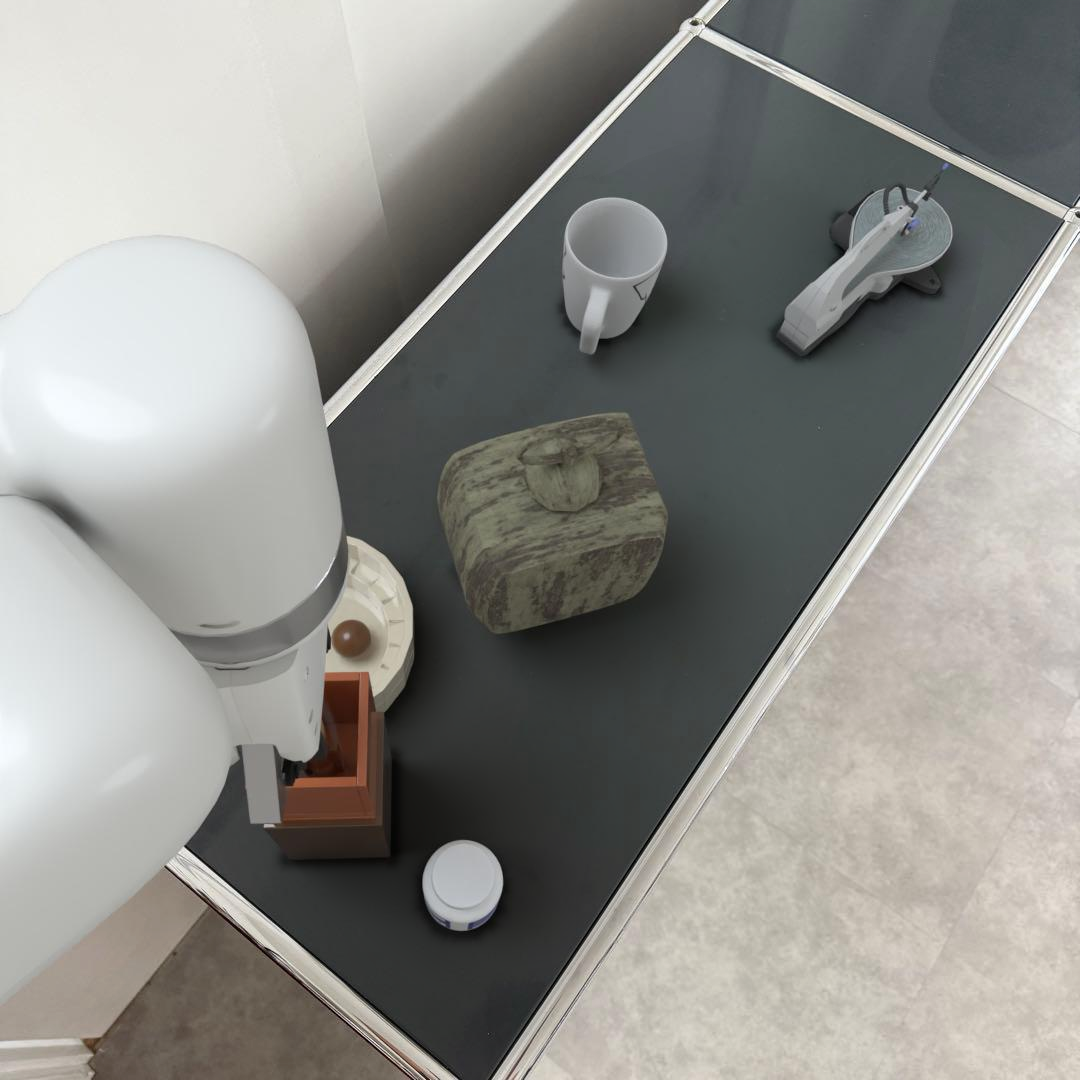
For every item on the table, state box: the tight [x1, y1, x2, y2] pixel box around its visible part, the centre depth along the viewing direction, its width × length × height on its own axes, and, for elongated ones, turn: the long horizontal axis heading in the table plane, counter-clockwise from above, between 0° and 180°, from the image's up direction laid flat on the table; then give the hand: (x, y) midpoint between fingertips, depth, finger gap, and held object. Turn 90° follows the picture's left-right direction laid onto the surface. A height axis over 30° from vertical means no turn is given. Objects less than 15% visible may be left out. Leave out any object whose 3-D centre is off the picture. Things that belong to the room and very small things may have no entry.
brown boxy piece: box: [244, 672, 393, 861], centre depth 69 cm, size 7×7×23 cm
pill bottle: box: [421, 839, 504, 932], centre depth 73 cm, size 5×5×9 cm
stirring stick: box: [304, 719, 344, 778], centre depth 57 cm, size 2×2×20 cm
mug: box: [561, 197, 668, 355], centre depth 93 cm, size 11×8×10 cm
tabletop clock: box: [436, 412, 669, 635], centre depth 76 cm, size 14×9×25 cm, turn 107°
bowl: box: [325, 535, 415, 713], centre depth 81 cm, size 14×14×6 cm
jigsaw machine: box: [775, 162, 954, 357], centre depth 97 cm, size 20×11×12 cm
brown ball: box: [331, 619, 372, 660], centre depth 82 cm, size 3×3×3 cm
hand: (295, 698), depth 53 cm, fingers open, 4 cm apart
